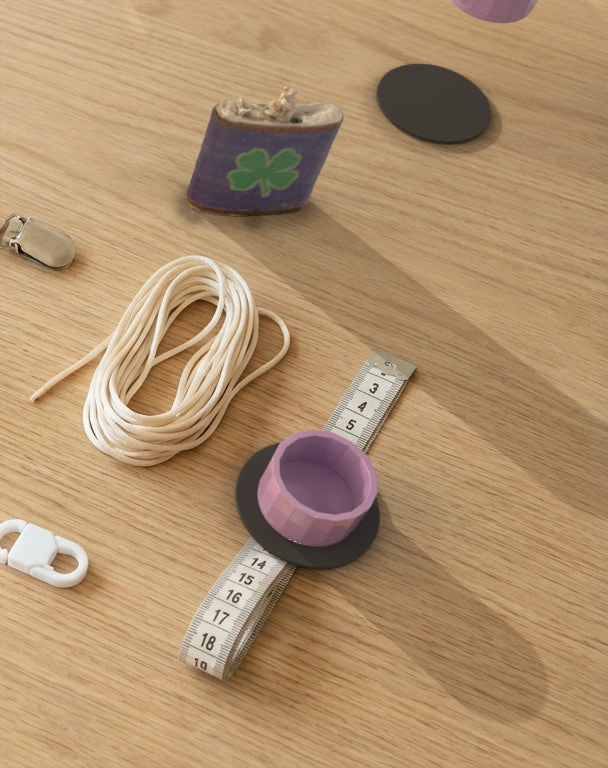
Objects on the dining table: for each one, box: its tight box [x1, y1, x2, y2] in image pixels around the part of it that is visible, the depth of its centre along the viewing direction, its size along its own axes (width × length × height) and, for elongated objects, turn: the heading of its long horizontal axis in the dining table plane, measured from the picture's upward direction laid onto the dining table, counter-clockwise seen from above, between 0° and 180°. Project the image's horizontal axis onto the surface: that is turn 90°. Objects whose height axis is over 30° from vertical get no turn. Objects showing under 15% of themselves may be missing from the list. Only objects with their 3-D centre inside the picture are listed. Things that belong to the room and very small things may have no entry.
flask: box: [185, 86, 345, 217], centre depth 87 cm, size 9×3×11 cm, turn 91°
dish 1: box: [257, 429, 379, 547], centre depth 75 cm, size 6×6×4 cm
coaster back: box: [375, 63, 492, 145], centre depth 98 cm, size 9×9×1 cm
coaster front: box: [234, 442, 381, 570], centre depth 77 cm, size 9×9×1 cm
